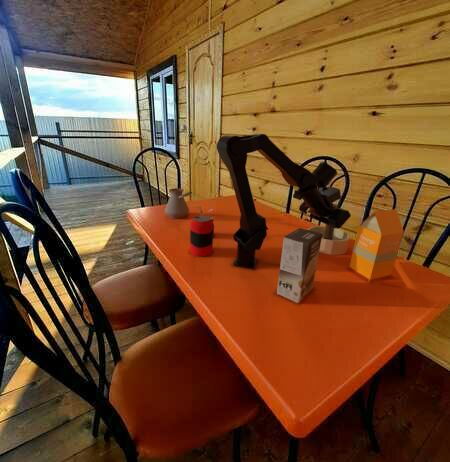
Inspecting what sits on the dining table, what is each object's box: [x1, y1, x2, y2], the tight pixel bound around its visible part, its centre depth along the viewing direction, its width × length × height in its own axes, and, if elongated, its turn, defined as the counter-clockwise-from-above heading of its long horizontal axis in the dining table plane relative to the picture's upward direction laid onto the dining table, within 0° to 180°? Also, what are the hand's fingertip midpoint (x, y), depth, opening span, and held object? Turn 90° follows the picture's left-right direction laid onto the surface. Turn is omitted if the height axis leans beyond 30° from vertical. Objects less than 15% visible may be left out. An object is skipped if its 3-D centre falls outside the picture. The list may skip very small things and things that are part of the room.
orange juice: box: [349, 208, 405, 283], centre depth 74 cm, size 8×9×20 cm
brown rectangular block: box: [324, 203, 338, 240], centre depth 91 cm, size 5×5×16 cm
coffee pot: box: [164, 187, 195, 219], centre depth 116 cm, size 21×12×15 cm, turn 34°
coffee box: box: [276, 227, 322, 304], centre depth 64 cm, size 9×6×16 cm
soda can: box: [189, 215, 214, 257], centre depth 85 cm, size 8×8×12 cm
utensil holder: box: [197, 204, 215, 236], centre depth 99 cm, size 6×6×12 cm
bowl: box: [307, 225, 351, 256], centre depth 92 cm, size 14×14×6 cm
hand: (332, 225), depth 91 cm, fingers open, 3 cm apart
